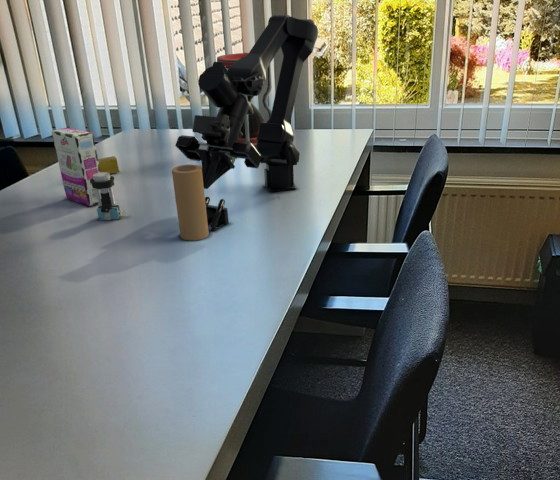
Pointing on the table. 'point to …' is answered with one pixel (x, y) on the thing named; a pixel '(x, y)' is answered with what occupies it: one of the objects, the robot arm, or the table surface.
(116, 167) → the medication box
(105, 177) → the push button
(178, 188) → the paper towel roll
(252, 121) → the hourglass
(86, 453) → the table surface
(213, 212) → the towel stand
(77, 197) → the candy bar box
